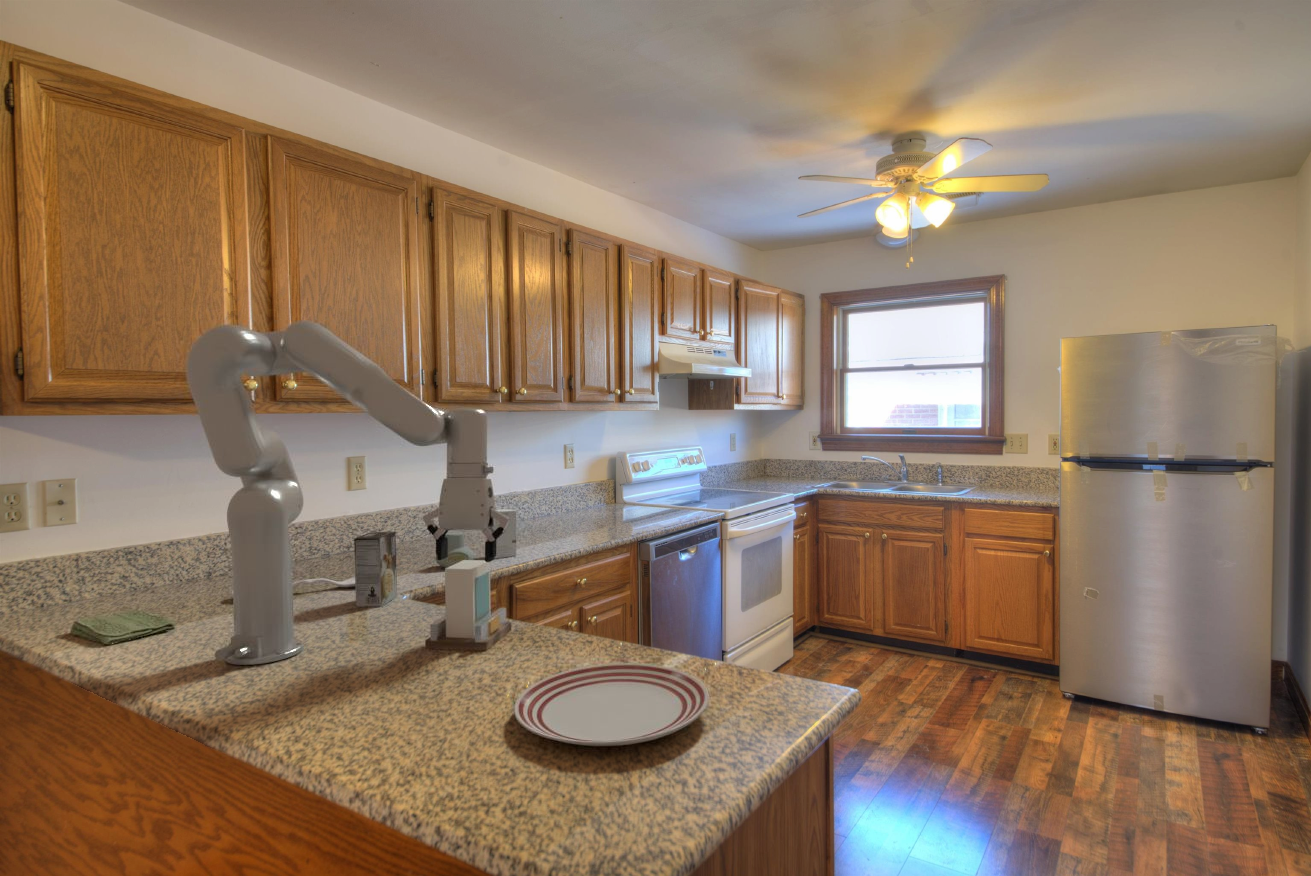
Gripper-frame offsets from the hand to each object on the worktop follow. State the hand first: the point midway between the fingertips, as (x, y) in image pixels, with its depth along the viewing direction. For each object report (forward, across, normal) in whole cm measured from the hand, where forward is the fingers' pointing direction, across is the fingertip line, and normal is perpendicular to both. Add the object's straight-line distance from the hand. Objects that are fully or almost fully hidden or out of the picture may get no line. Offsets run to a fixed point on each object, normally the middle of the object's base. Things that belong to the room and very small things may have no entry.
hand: (465, 559), depth 135 cm
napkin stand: (+15, -1, 0) cm, 15 cm away
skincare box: (+16, +24, -83) cm, 88 cm away
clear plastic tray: (+14, -1, 0) cm, 14 cm away
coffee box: (+16, +33, -25) cm, 45 cm away
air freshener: (+16, +32, -66) cm, 75 cm away
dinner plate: (+15, -36, +32) cm, 50 cm away
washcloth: (+18, +72, +3) cm, 75 cm away
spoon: (+17, +57, -32) cm, 68 cm away
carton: (+14, -1, 0) cm, 14 cm away
